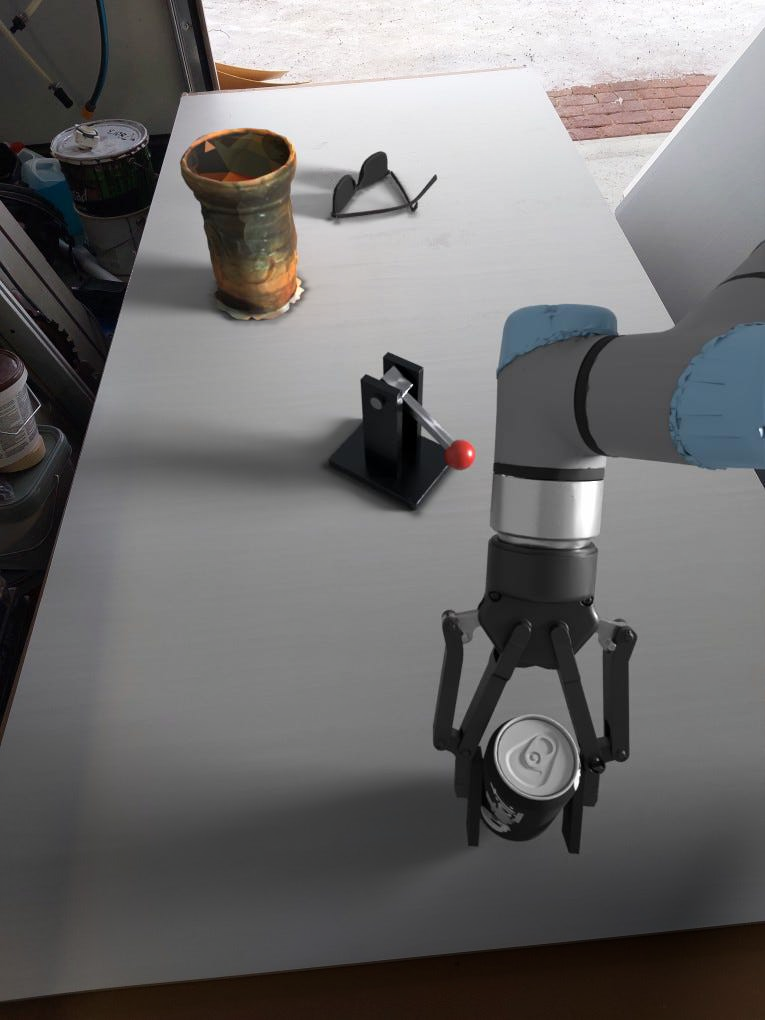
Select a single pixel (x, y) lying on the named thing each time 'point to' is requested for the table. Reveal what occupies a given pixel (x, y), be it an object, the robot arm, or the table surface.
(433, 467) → the bracket
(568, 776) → the beverage can
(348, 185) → the sunglasses
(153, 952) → the table surface
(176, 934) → the table surface
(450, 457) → the lever
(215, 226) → the vessel
